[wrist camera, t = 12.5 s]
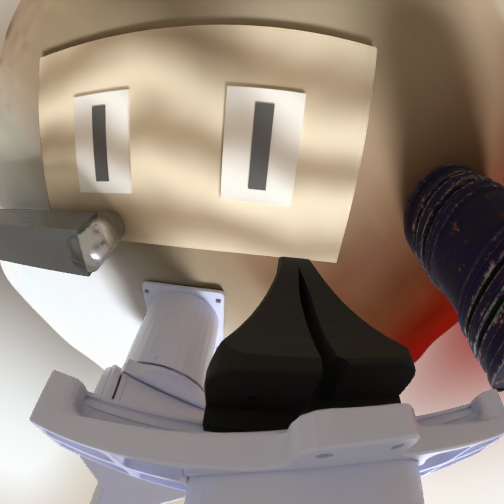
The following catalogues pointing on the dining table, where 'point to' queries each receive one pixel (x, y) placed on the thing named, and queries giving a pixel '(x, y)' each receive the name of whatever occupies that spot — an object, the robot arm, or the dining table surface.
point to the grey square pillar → (59, 238)
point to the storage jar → (464, 254)
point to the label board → (210, 135)
